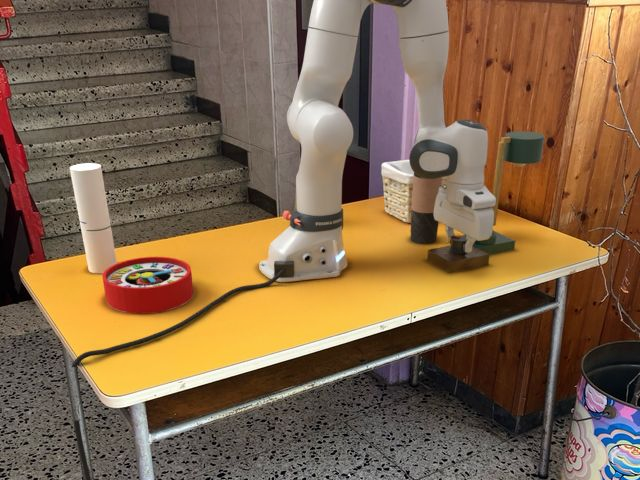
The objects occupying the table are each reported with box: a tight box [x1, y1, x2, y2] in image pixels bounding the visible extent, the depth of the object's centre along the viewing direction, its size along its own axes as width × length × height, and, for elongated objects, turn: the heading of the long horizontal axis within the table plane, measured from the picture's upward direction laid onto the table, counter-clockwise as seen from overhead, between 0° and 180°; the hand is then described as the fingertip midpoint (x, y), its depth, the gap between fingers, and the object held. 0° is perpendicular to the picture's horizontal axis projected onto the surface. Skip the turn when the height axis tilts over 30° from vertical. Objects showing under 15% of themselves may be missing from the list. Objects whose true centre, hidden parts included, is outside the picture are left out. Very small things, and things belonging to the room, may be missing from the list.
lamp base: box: [461, 230, 516, 256], centre depth 196 cm, size 12×10×4 cm
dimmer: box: [426, 245, 491, 274], centre depth 187 cm, size 12×10×3 cm
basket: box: [380, 159, 447, 224], centre depth 220 cm, size 24×16×15 cm
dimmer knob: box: [449, 234, 468, 255], centre depth 185 cm, size 4×4×4 cm
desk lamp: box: [492, 130, 546, 227], centre depth 196 cm, size 13×10×22 cm
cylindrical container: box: [69, 162, 118, 274], centre depth 180 cm, size 7×7×25 cm
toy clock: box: [101, 256, 195, 315], centre depth 170 cm, size 20×6×20 cm
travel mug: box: [410, 173, 442, 245], centre depth 198 cm, size 8×8×20 cm
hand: (458, 247), depth 186 cm, fingers open, 5 cm apart
